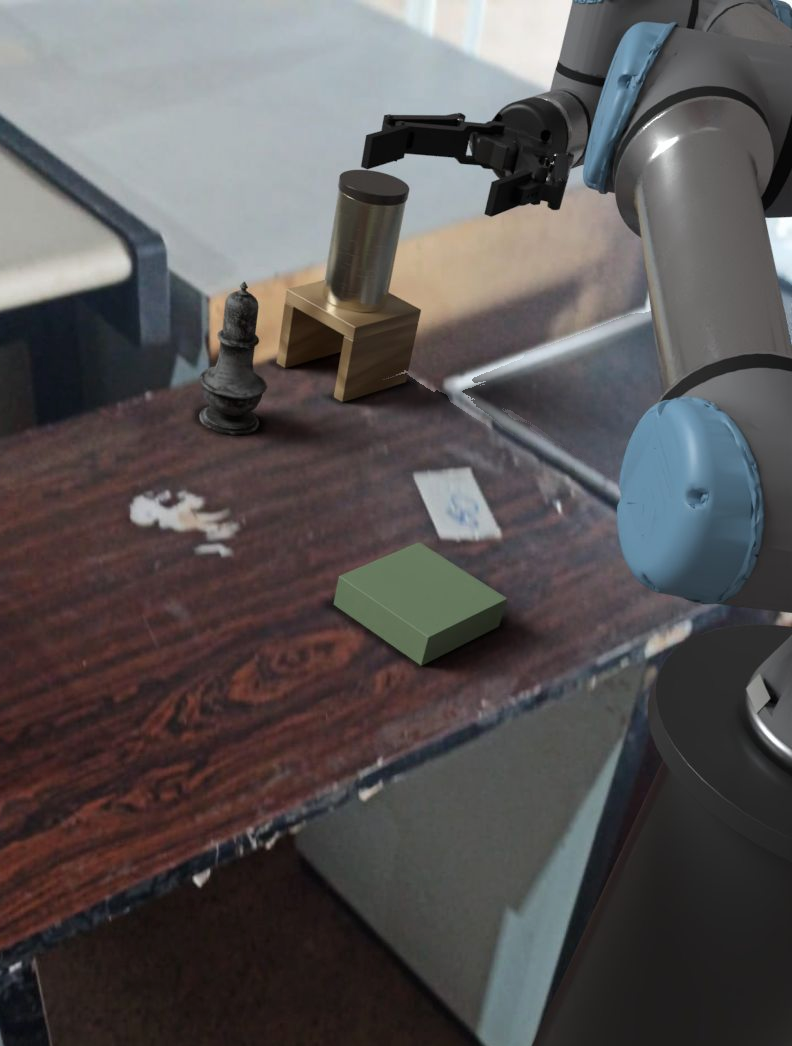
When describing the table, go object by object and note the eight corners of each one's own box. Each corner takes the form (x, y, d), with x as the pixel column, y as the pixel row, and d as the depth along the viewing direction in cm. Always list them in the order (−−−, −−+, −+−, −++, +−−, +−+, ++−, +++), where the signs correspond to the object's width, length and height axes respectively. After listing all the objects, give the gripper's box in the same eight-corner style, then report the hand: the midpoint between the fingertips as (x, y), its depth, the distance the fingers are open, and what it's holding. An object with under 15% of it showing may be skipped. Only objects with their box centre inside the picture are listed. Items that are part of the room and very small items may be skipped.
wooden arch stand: (406, 382, 124) (421, 309, 119) (342, 402, 119) (355, 327, 114) (340, 344, 128) (353, 272, 123) (276, 363, 123) (286, 288, 118)
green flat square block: (499, 626, 97) (507, 598, 95) (421, 666, 92) (428, 637, 90) (412, 569, 101) (419, 541, 99) (333, 604, 96) (338, 575, 94)
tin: (400, 306, 119) (423, 190, 112) (355, 318, 116) (376, 199, 108) (353, 280, 122) (373, 166, 115) (307, 291, 118) (324, 174, 111)
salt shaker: (193, 430, 111) (206, 290, 103) (198, 400, 115) (211, 262, 107) (260, 440, 112) (278, 301, 103) (263, 410, 116) (281, 273, 107)
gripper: (632, 218, 129) (534, 264, 115) (424, 142, 137) (311, 176, 124) (657, 136, 123) (558, 173, 110) (440, 62, 132) (323, 88, 118)
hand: (427, 175), depth 117 cm, fingers open, 13 cm apart
